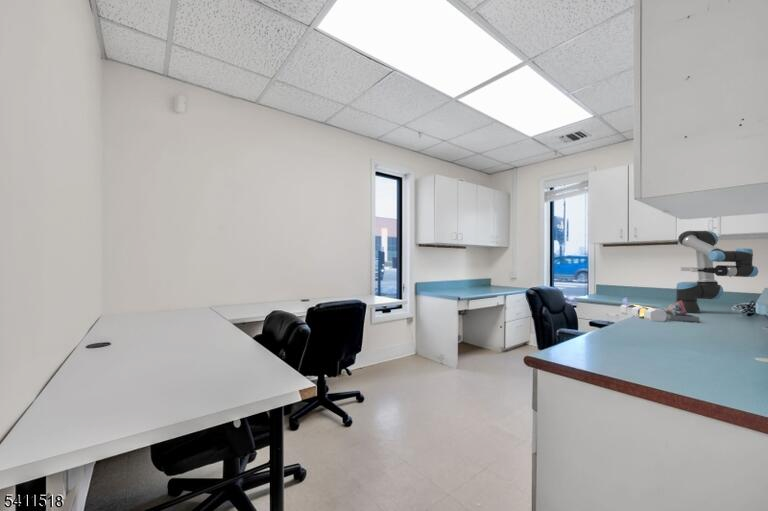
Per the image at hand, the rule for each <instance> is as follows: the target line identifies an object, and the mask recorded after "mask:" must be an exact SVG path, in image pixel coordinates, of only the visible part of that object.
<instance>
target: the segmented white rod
mask: <svg viewBox="0 0 768 511" xmlns="http://www.w3.org/2000/svg"><path fill="white" fill-rule="evenodd" d="M628 301H629V300H628V297H626V296H625V297H624V298H622V302H621V303H622V304H621V305H620V309H619V310H620V311H619V312H620V314H621V315H624V316H628V313H627V308H628V307H630V306H632V307H631V316H632V317H633V316H635V317H634V318H637V319H640V317H642V316H644V319H646V320H645V321H649V320H650V321H651V322H666V320H667V319H666V316H667V313H666V312H665V310H663V309H661V308H660V309H659V308H655V307H650V306H644V305H638V304H634V303H629V302H628ZM639 314H640V315H639ZM638 315H639V316H638ZM650 321H649V322H650Z"/></svg>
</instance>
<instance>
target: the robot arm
mask: <svg viewBox="0 0 768 511" xmlns="http://www.w3.org/2000/svg"><path fill="white" fill-rule="evenodd" d="M677 239H678V243H679V244H681V245H682V246H684V247H687V248H691V249H693V250H695V254H696V265H697V267H685V266H682V267H681V266H680V267H679V271H680V272H691V273H697V274H698V280H696V281H681V282H677V283H676V287H675V289H676V296H675V297H676V300H675V303H676V302H678V301H680V300H681V301H682V302H683V305H684V308H685V311H686V313H687V314H690V313H691V314H700V313H701V309H700V307H699V303H698V299H699V300H700V299H701V300H718V299H720V298H721V297H722V296H723V294H724V288H723V286H722V285H720V284H719V283H718V281H717V280H716V279H715V275H716V276H717V277H729V278H732V277H738V278H740V277H741V278H754V277H756V276H758V274H759V268H758V267H757V266H755V265H753V259H754V252H753V249H752V248H742V247H741V248H739V247H738V248H736V249H735V250H723V249H721V248H719V247H716V246H715V245H717V244H718V242H719V237H718V235H717V233H715V232H714V231H711V230H687V231H683V232H681V233H680V234H679V235H678V238H677ZM714 262H716V263H735V265H732V264H731V265H727V264H725V265H724V264H723V265H721V264H720V265H719V264H718V265H716V266H714ZM680 303H681V302H680ZM681 305H682V304H681ZM679 307H680V306H679ZM681 309H682V308H680V311H681Z"/></svg>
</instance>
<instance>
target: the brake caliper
mask: <svg viewBox="0 0 768 511" xmlns="http://www.w3.org/2000/svg"><path fill="white" fill-rule="evenodd" d="M680 302H681V303H680ZM681 304H682V305H681ZM679 306H680V307H679ZM680 308H682V309H681V311H680ZM662 310H663V311H665V312H666V313H667V314H669V315H675V316H686V314H687V312H686V311H685V308H684V305H683V302H682V301H681V300H680V301H678V302H676V301H675V303H673V304H669V305H668V307H662Z"/></svg>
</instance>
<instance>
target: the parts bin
mask: <svg viewBox="0 0 768 511" xmlns="http://www.w3.org/2000/svg"><path fill="white" fill-rule="evenodd" d="M667 319H668V321H670V322H671V321H672V322H681V321H683V323H694V322H697V323H696V324H699V323H700V317H699V316H697V315H692V314H690V313H686V316H675V315H669V314H667V316H666V320H667Z"/></svg>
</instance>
